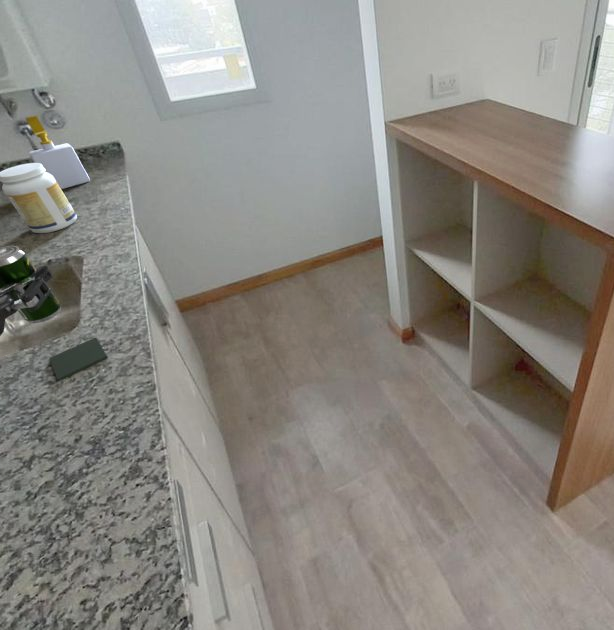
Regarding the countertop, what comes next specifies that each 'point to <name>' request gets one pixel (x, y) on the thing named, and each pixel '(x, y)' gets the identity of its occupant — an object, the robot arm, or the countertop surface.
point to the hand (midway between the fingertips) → (29, 272)
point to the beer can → (16, 267)
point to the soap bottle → (57, 158)
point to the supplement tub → (37, 198)
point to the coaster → (77, 358)
